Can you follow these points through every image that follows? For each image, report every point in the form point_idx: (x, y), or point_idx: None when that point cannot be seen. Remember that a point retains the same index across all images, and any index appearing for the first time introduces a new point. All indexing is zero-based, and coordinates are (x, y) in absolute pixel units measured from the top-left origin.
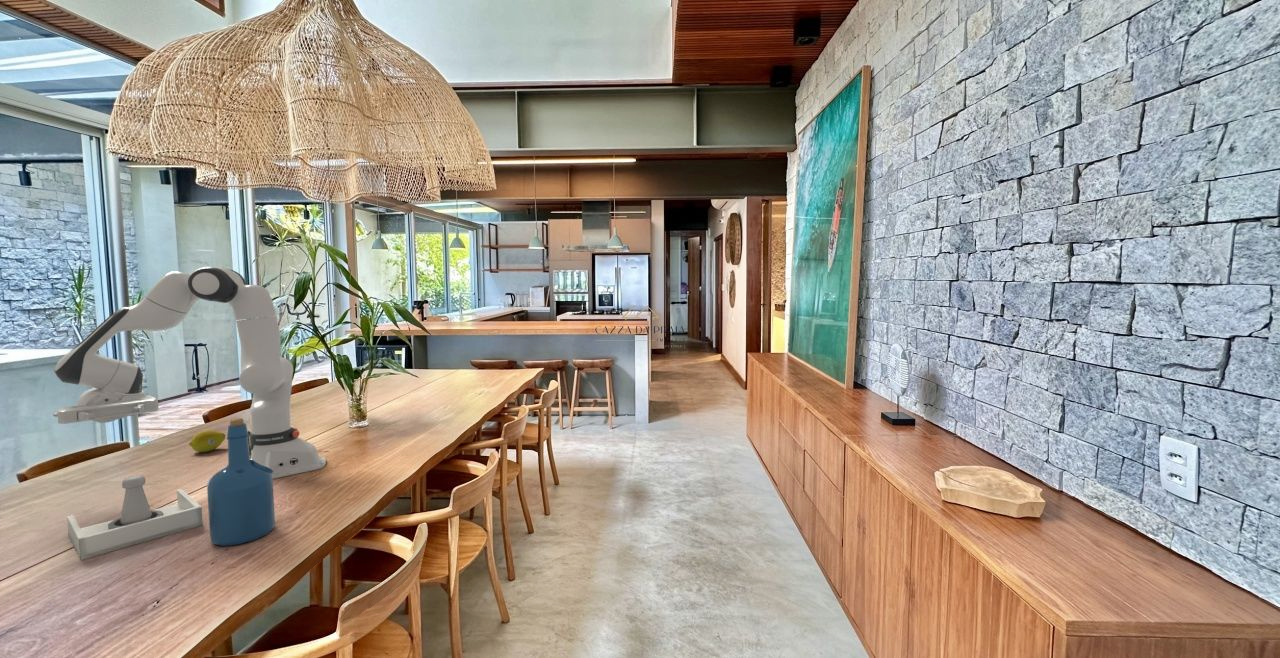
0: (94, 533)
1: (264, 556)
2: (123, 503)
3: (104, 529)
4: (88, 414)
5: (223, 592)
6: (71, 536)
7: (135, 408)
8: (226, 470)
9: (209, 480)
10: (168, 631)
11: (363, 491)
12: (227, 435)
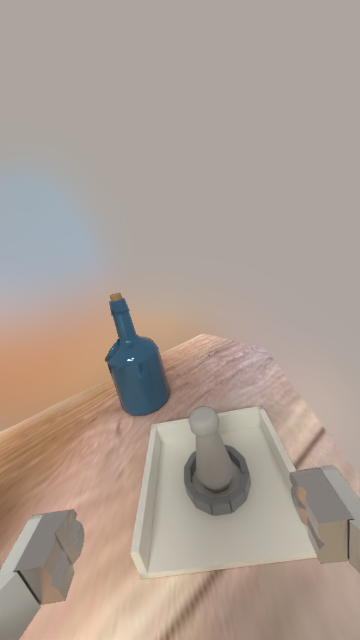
0: (270, 493)
1: None
2: (223, 444)
3: (259, 502)
4: (322, 469)
5: (184, 351)
6: None
7: (66, 510)
8: (140, 337)
9: (152, 347)
10: (207, 339)
11: (27, 432)
12: (127, 306)
